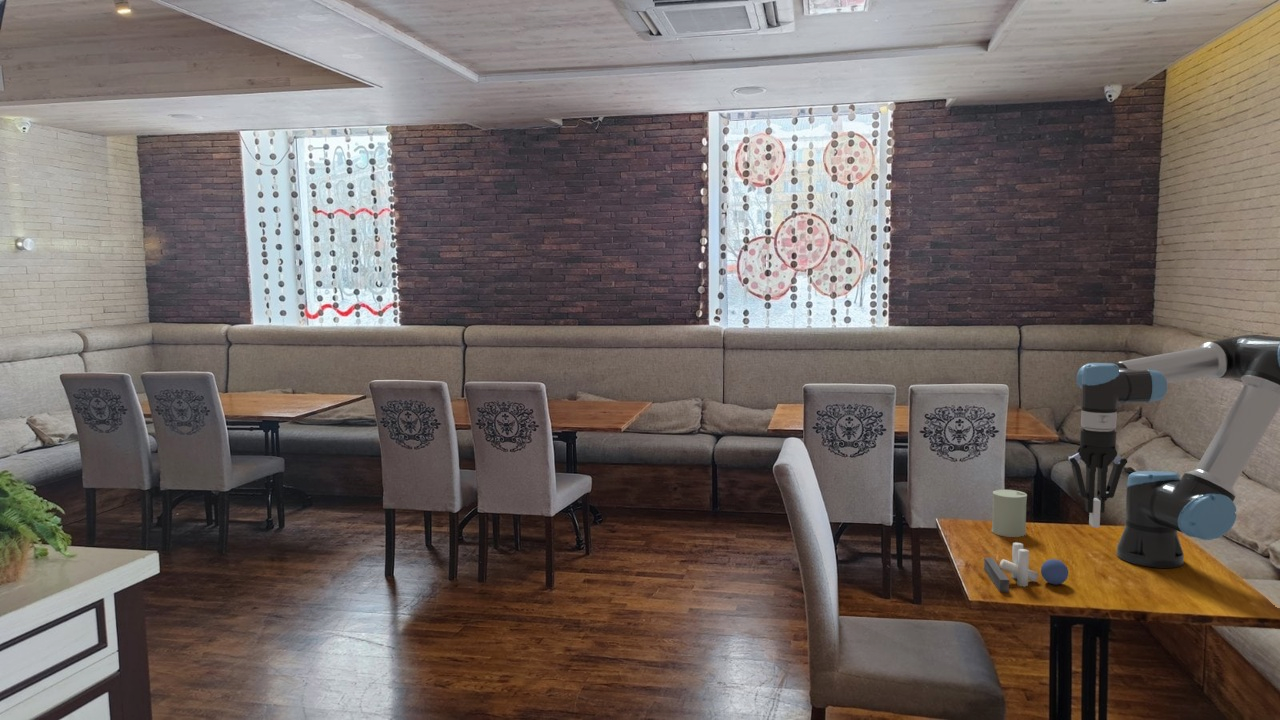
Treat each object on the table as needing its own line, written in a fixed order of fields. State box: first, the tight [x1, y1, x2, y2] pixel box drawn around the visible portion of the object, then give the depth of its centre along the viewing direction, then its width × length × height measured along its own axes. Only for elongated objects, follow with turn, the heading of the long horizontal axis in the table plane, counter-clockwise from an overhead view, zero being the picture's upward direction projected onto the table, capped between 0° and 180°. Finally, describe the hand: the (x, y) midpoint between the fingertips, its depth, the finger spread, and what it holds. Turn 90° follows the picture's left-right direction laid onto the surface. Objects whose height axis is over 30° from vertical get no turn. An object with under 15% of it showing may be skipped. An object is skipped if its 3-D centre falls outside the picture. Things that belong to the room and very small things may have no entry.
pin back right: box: [1011, 542, 1024, 580], centre depth 217 cm, size 2×2×8 cm
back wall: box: [983, 557, 1010, 593], centre depth 216 cm, size 2×16×3 cm, turn 171°
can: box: [991, 489, 1028, 538], centre depth 254 cm, size 9×9×12 cm
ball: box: [1040, 558, 1069, 585], centre depth 213 cm, size 6×6×6 cm
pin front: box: [999, 558, 1039, 583], centre depth 215 cm, size 2×2×8 cm
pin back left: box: [1016, 548, 1030, 588], centre depth 212 cm, size 2×2×8 cm
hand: (1094, 525), depth 211 cm, fingers closed
